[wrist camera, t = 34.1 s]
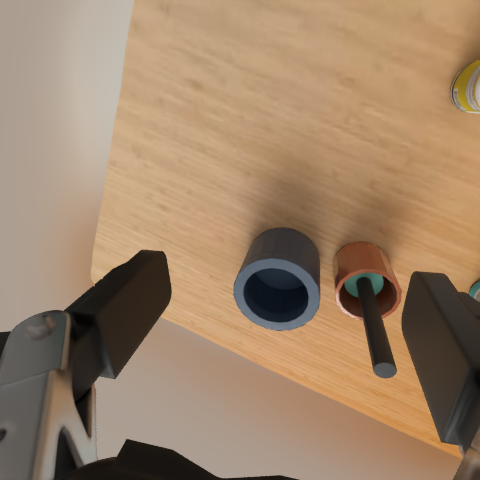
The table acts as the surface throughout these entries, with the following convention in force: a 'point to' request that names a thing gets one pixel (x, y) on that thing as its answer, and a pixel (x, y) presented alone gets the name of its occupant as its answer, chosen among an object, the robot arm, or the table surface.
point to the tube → (475, 291)
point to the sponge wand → (373, 321)
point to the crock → (364, 261)
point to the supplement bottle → (467, 88)
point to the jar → (279, 280)
